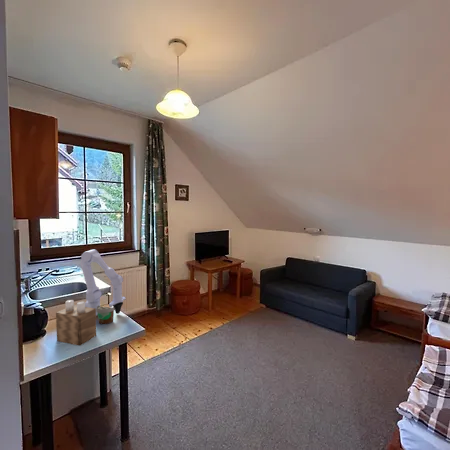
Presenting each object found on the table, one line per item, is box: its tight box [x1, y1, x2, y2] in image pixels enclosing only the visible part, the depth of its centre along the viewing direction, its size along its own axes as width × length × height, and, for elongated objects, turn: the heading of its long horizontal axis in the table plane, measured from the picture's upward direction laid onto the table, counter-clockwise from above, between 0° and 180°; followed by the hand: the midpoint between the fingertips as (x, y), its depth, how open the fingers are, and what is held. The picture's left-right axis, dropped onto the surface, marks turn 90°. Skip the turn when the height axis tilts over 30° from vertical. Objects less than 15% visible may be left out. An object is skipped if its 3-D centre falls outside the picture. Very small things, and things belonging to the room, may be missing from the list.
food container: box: [96, 305, 115, 325], centre depth 170 cm, size 12×6×10 cm, turn 76°
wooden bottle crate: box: [55, 304, 97, 347], centre depth 150 cm, size 16×12×16 cm
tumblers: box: [65, 299, 86, 313], centre depth 149 cm, size 12×4×5 cm, turn 73°
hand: (117, 313), depth 183 cm, fingers closed
